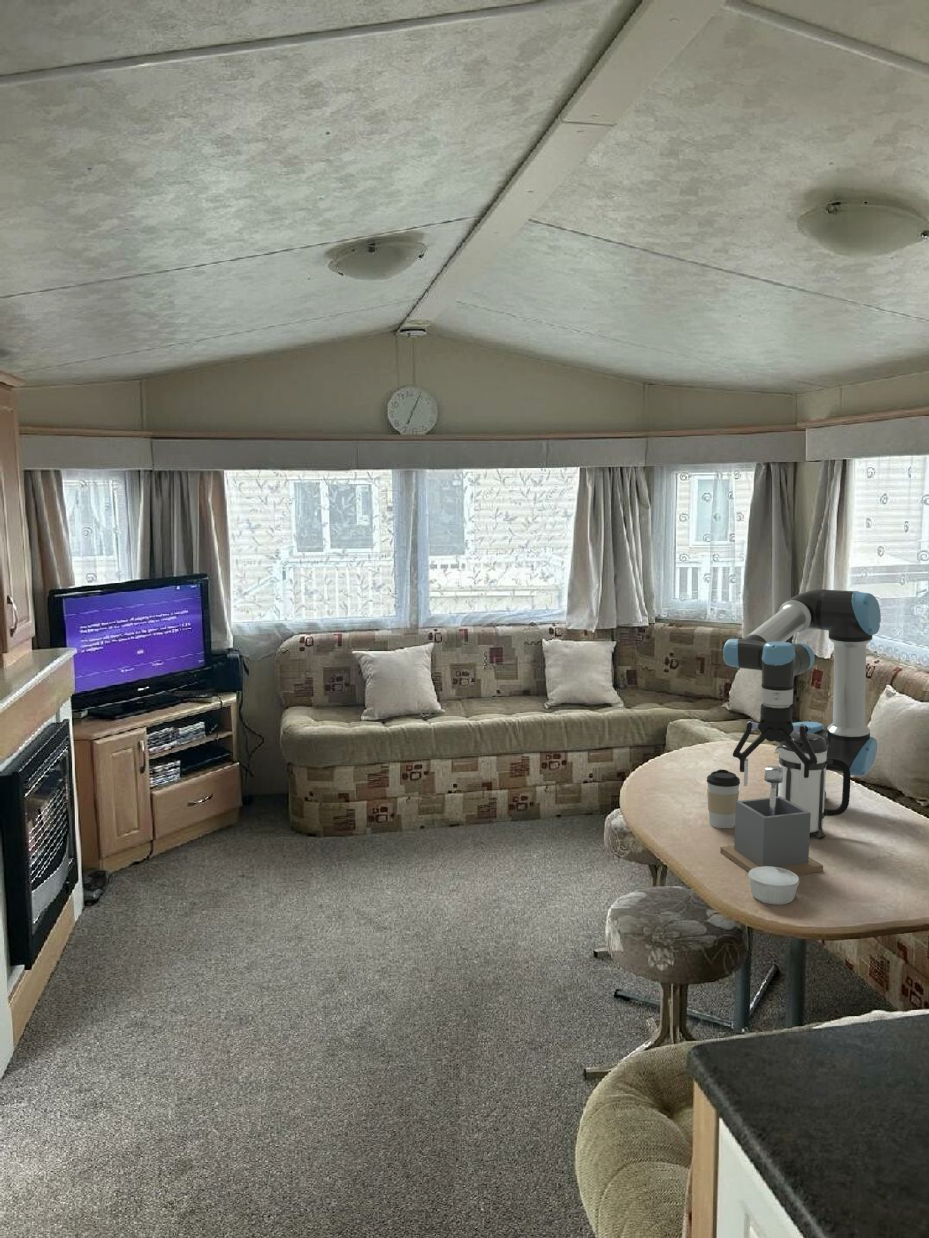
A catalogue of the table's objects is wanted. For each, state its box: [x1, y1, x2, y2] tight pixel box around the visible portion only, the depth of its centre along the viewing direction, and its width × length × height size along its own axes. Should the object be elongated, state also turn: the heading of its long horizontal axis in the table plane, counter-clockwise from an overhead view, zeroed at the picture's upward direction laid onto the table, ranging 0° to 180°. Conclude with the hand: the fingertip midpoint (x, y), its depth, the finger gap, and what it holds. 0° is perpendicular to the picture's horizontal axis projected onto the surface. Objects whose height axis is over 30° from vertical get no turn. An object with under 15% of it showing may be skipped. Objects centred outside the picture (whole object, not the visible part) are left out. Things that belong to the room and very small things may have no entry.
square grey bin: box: [719, 796, 824, 876], centre depth 243 cm, size 18×18×14 cm
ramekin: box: [747, 866, 800, 906], centre depth 224 cm, size 11×11×5 cm
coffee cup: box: [706, 769, 741, 829], centre depth 270 cm, size 9×9×15 cm
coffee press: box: [772, 725, 851, 840], centre depth 263 cm, size 17×16×30 cm
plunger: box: [763, 765, 783, 816], centre depth 242 cm, size 10×10×22 cm
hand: (773, 787), depth 242 cm, fingers open, 13 cm apart
